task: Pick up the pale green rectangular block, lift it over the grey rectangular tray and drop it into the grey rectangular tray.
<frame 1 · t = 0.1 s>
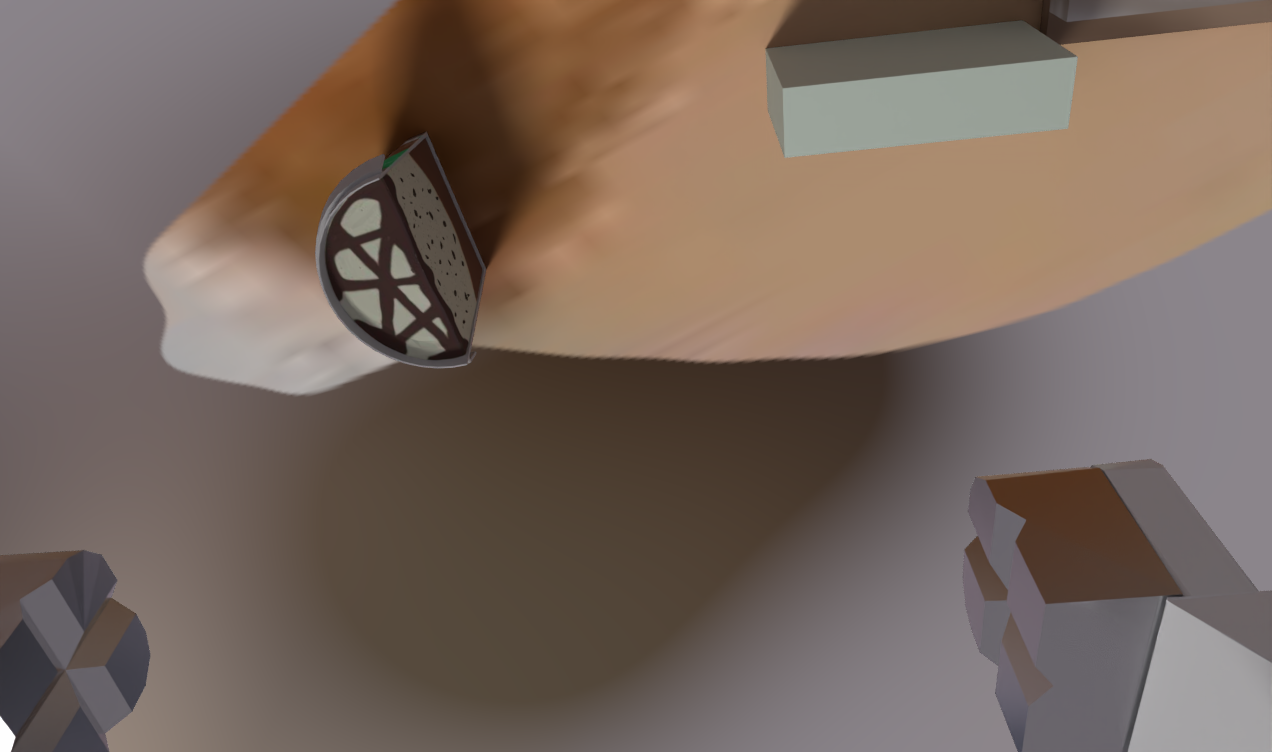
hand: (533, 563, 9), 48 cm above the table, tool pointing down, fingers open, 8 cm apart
pale green rectangular block: (891, 66, 54), on the table
food container: (412, 215, 59), on the table
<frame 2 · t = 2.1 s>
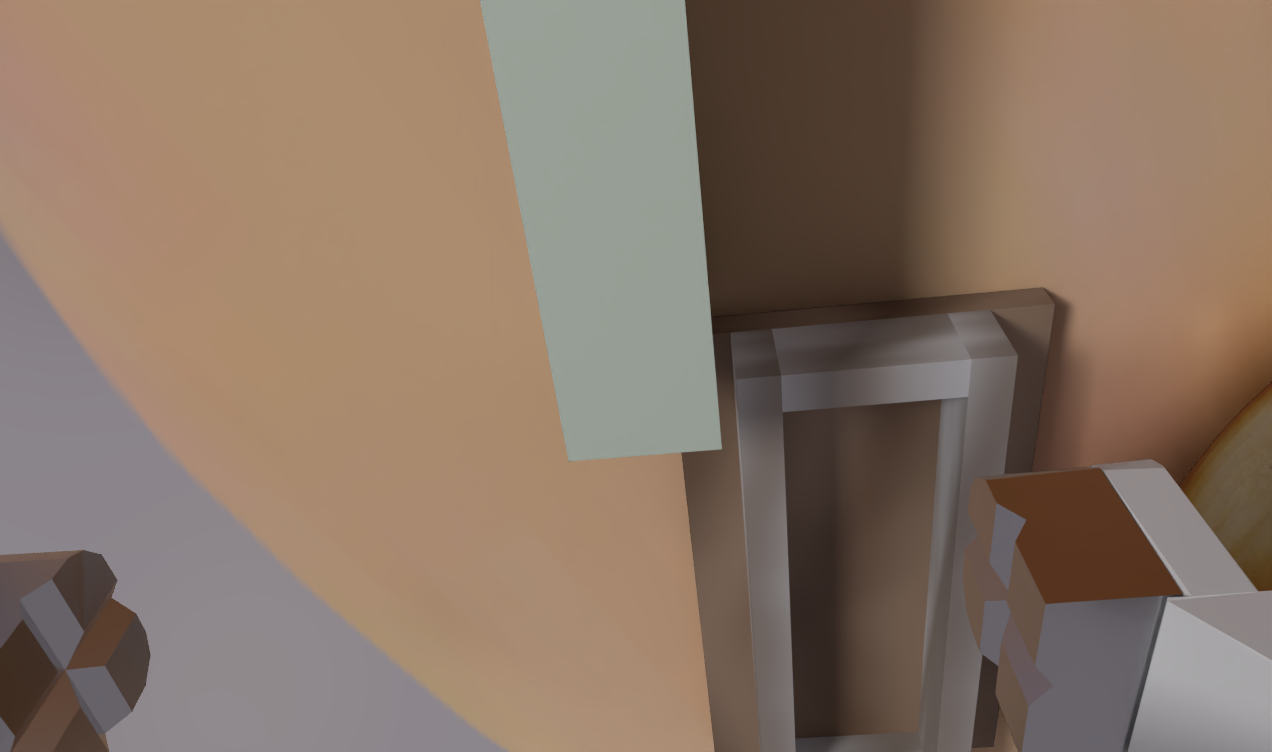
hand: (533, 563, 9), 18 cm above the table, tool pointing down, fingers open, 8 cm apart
grey rectangular tray: (850, 552, 34), on the table
pale green rectangular block: (619, 51, 25), on the table
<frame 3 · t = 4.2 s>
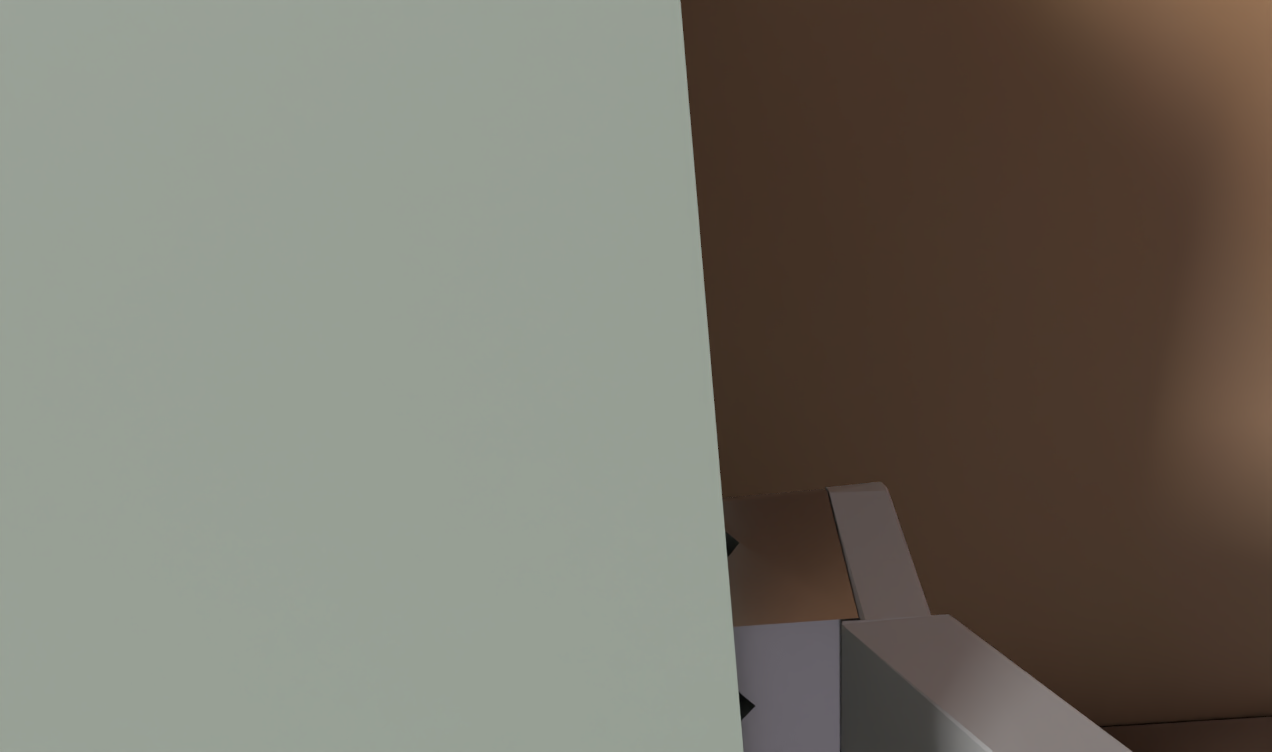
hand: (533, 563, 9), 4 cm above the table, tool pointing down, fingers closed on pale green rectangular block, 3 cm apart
pale green rectangular block: (563, 360, 12), on the table, touching gripper
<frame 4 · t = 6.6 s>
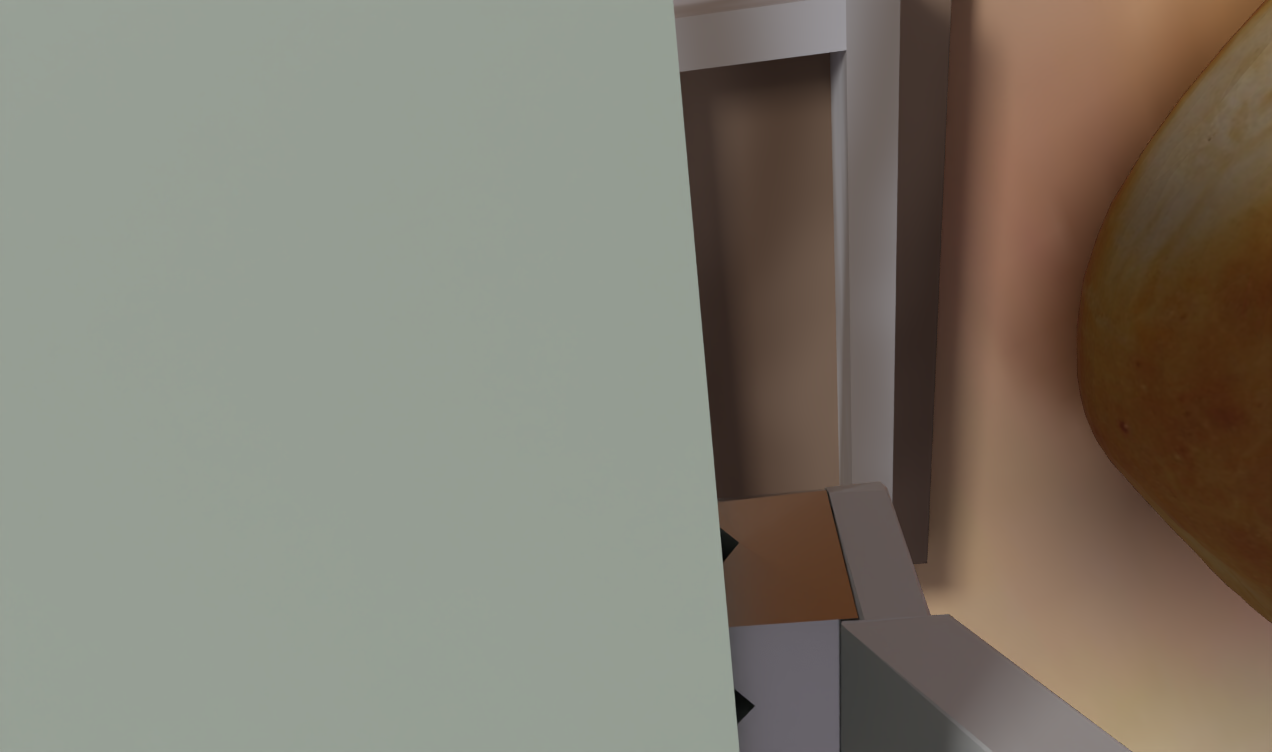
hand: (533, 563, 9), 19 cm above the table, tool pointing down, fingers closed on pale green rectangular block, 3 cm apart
grey rectangular tray: (749, 320, 30), on the table
pale green rectangular block: (561, 359, 12), point 16 cm above the table, touching gripper
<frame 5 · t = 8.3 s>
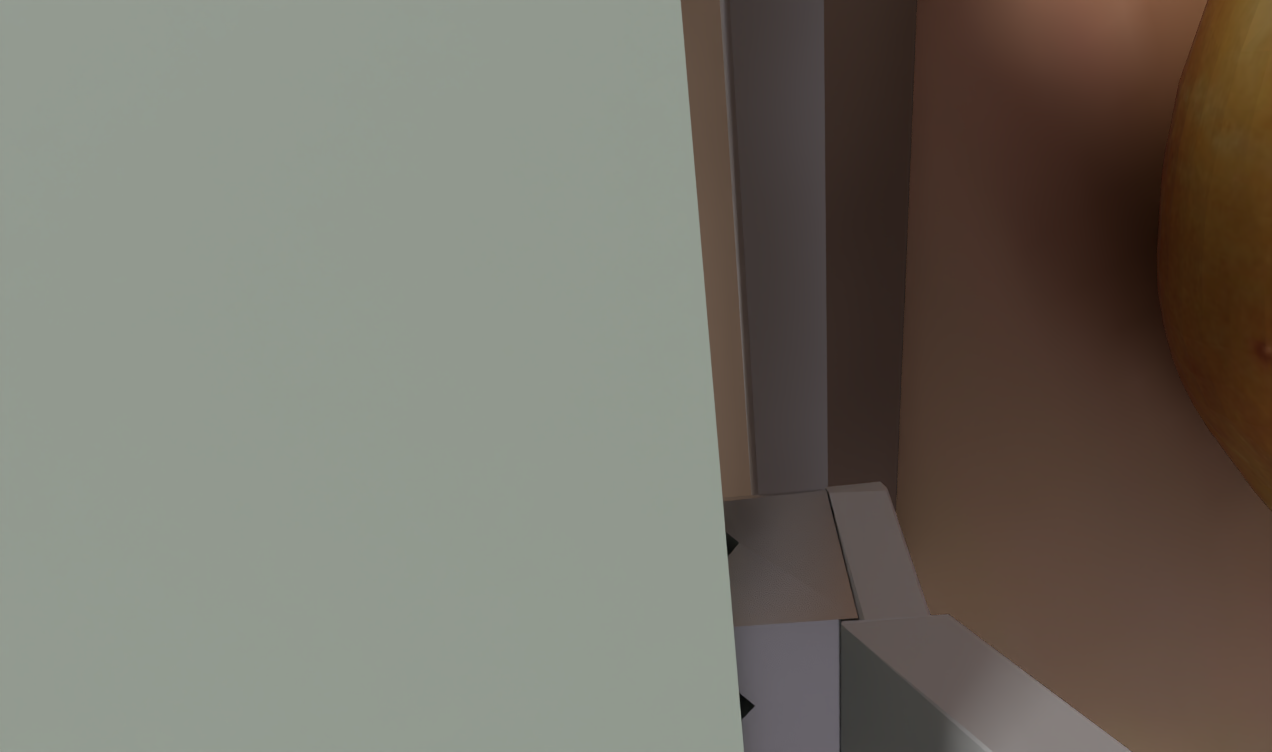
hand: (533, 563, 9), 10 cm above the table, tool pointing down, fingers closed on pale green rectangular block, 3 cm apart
grey rectangular tray: (589, 182, 17), on the table
pale green rectangular block: (563, 362, 12), point 6 cm above the table, touching gripper
when the fingers open (6 cm above the table, at t = 9.4 s): pale green rectangular block stays where it is, resting on grey rectangular tray.
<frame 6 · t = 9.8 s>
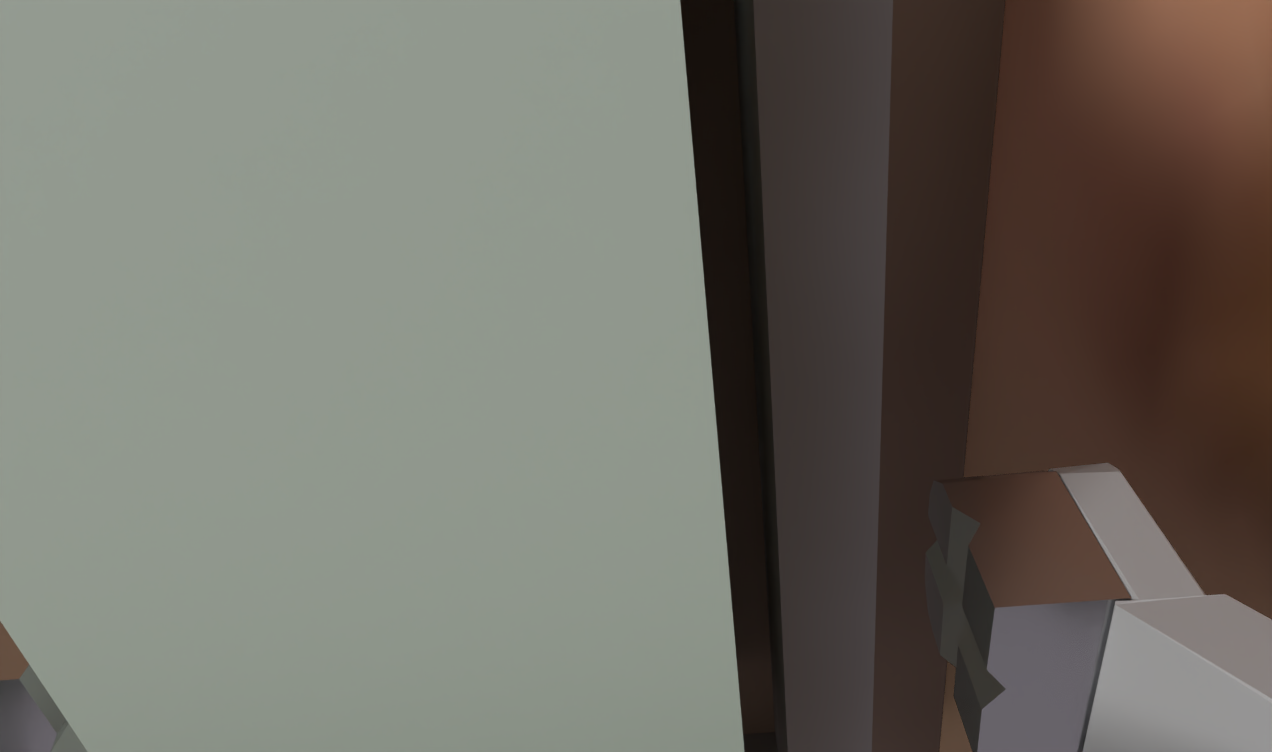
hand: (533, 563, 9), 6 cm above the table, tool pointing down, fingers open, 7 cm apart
grey rectangular tray: (570, 292, 14), on the table
pale green rectangular block: (568, 323, 13), point 1 cm above the table, touching grey rectangular tray
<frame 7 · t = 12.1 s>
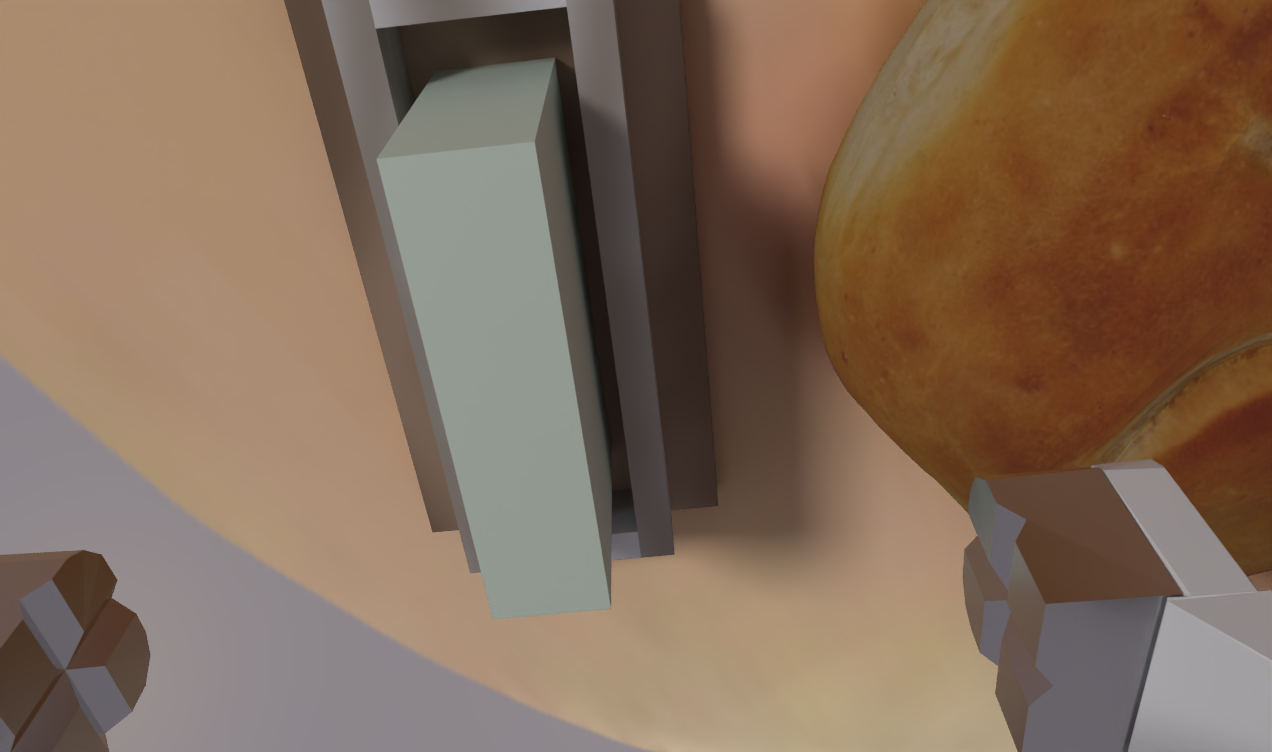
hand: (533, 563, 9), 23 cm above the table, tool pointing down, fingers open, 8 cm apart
bread: (1140, 197, 32), on the table
grey rectangular tray: (534, 270, 32), on the table
pale green rectangular block: (533, 281, 31), point 1 cm above the table, touching grey rectangular tray
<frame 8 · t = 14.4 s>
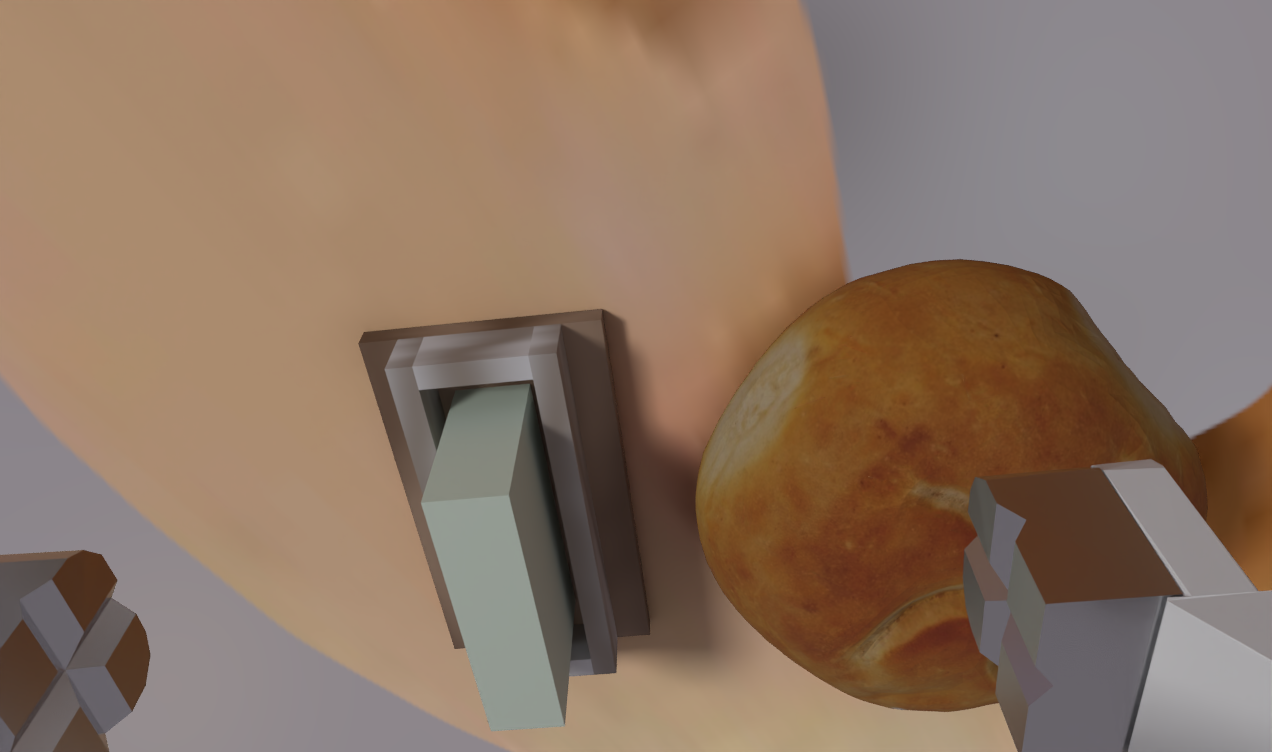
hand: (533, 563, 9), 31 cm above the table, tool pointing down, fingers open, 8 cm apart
bread: (922, 449, 47), on the table
grey rectangular tray: (521, 491, 49), on the table
pale green rectangular block: (520, 503, 48), point 1 cm above the table, touching grey rectangular tray
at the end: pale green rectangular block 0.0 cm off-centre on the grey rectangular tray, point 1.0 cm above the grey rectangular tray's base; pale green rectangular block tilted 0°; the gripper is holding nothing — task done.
